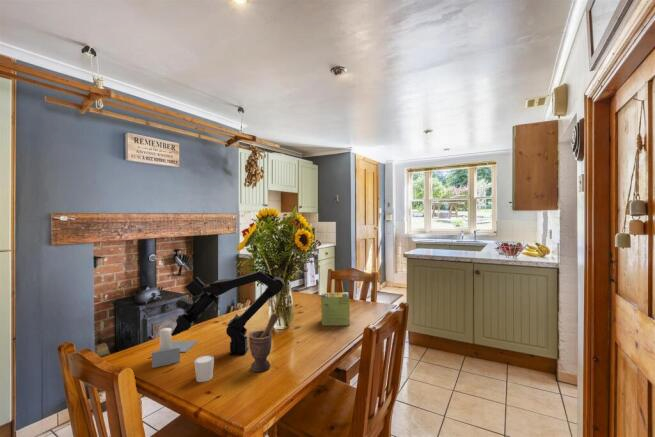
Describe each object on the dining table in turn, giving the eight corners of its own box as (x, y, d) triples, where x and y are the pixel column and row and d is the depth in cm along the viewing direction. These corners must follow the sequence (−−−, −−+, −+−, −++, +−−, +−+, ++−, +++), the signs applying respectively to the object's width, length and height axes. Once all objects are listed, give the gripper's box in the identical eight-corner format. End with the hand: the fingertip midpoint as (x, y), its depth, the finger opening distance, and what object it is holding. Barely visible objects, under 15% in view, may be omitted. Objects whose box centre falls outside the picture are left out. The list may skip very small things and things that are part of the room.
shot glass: (193, 384, 111) (192, 364, 111) (195, 375, 117) (195, 356, 117) (213, 381, 113) (213, 361, 113) (215, 372, 119) (214, 354, 119)
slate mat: (197, 341, 150) (197, 340, 150) (185, 352, 138) (185, 351, 138) (173, 341, 150) (173, 341, 150) (159, 352, 138) (159, 351, 138)
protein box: (350, 325, 168) (349, 296, 168) (321, 325, 168) (321, 297, 168) (349, 319, 178) (348, 292, 178) (322, 319, 179) (321, 292, 179)
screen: (179, 360, 130) (179, 346, 130) (179, 362, 128) (179, 347, 128) (152, 366, 125) (151, 351, 125) (152, 368, 124) (151, 352, 124)
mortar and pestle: (266, 358, 131) (265, 310, 131) (282, 363, 126) (281, 313, 126) (245, 369, 121) (244, 318, 121) (261, 375, 116) (259, 321, 116)
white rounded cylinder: (171, 354, 136) (171, 327, 136) (172, 358, 132) (171, 330, 132) (160, 356, 134) (159, 328, 134) (159, 361, 130) (159, 332, 130)
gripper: (194, 286, 143) (169, 312, 142) (181, 296, 125) (152, 326, 123) (212, 303, 145) (187, 328, 143) (202, 315, 126) (173, 344, 125)
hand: (175, 331), depth 133 cm, fingers open, 9 cm apart
